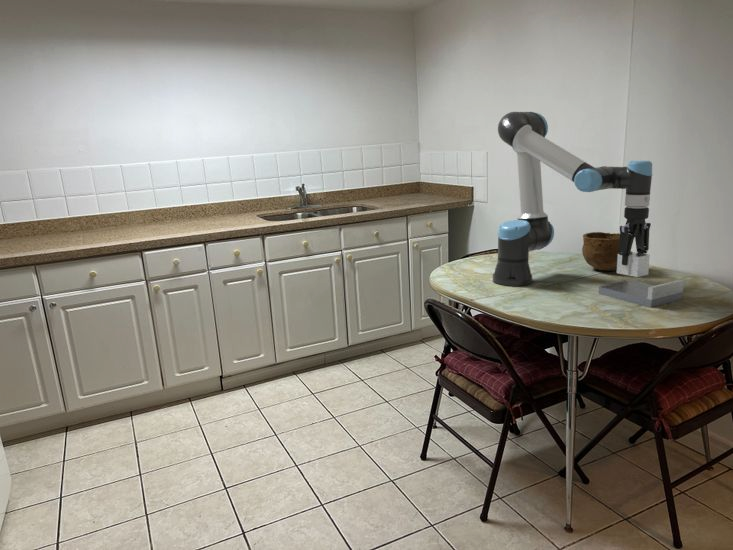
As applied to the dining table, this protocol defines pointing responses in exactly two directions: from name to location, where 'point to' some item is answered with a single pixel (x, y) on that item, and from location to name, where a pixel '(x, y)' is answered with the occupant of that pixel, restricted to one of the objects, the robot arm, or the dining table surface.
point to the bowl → (601, 250)
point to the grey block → (635, 264)
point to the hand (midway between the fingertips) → (631, 272)
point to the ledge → (644, 292)
